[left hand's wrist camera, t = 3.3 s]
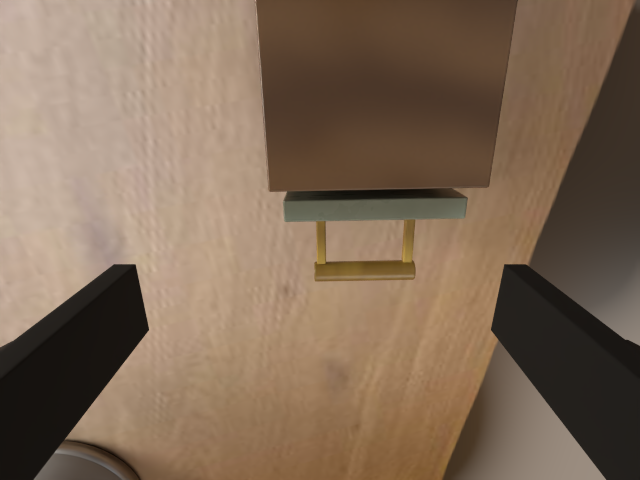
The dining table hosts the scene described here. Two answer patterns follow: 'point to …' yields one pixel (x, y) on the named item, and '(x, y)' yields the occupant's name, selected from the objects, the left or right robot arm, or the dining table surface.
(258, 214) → the dining table surface
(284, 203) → the drawer
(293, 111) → the wooden drawer cabinet
